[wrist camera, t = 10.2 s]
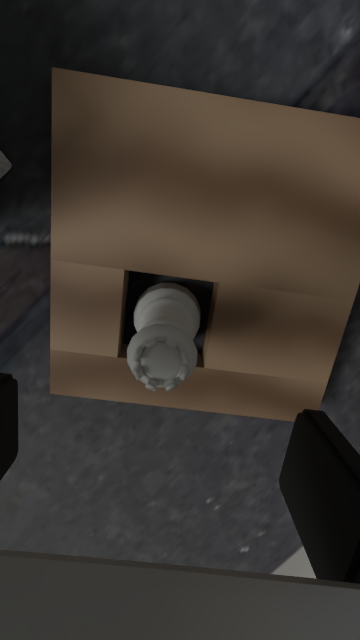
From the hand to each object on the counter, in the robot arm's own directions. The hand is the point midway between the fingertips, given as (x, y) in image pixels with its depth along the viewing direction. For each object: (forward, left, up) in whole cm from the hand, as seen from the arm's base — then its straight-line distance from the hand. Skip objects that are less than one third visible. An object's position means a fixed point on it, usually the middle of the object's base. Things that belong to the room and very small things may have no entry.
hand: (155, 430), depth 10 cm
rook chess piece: (+1, 0, -12) cm, 12 cm away
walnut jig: (+4, -2, -11) cm, 12 cm away
